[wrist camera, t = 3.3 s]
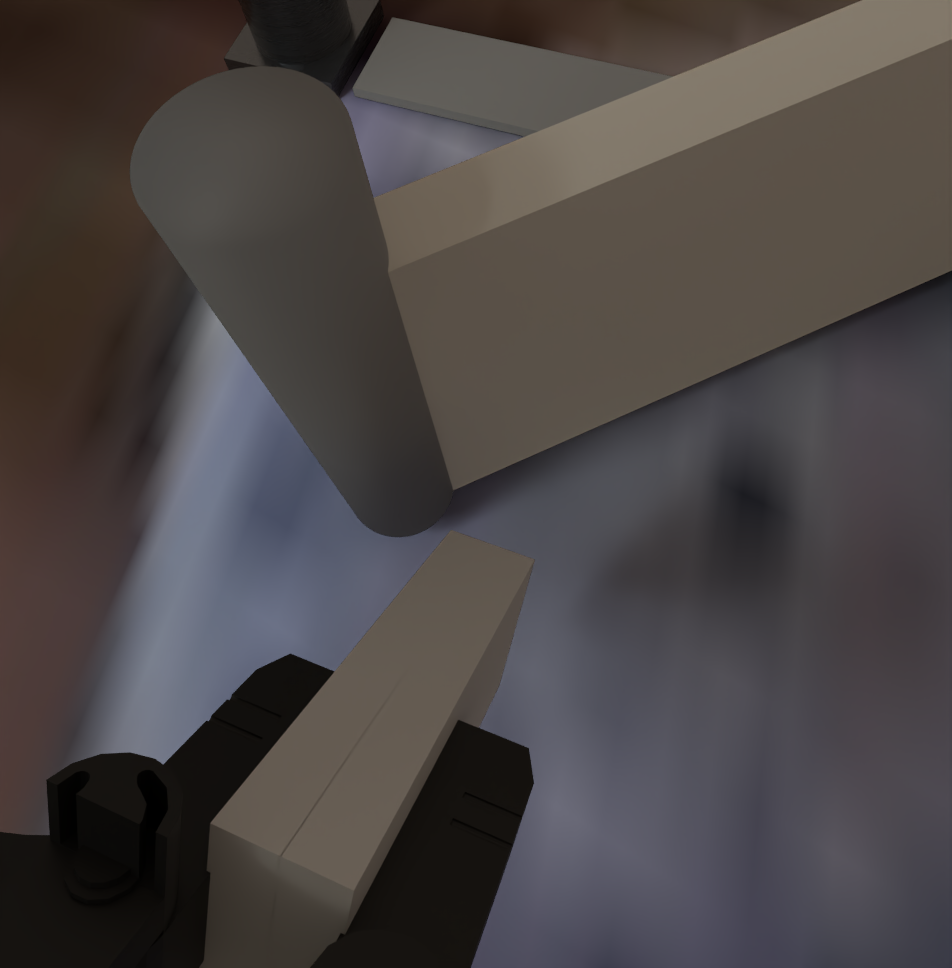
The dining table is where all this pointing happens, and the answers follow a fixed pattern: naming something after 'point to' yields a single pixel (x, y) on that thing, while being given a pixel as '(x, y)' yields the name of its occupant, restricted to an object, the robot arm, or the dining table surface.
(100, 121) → the dining table surface
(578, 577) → the dining table surface
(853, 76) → the gate
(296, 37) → the post
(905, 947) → the dining table surface
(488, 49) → the strip
